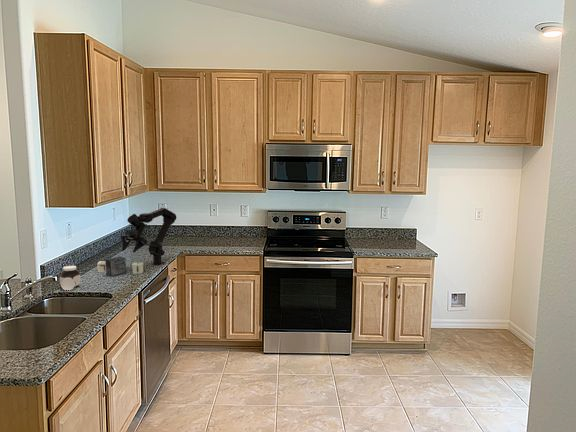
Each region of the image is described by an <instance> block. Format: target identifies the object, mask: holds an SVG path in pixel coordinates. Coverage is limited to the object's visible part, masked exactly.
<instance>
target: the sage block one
mask: <svg viewBox="0 0 576 432" xmlns="http://www.w3.org/2000/svg"><path fill="white" fill-rule="evenodd" d="M131 265H132V275H133V274H134V275H135V274H136V275H137V274H143V273H144V261H140V262H139V261H137V262H135V261H134V262H132V264H131Z"/></svg>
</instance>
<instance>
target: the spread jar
mask: <svg viewBox="0 0 576 432" xmlns="http://www.w3.org/2000/svg"><path fill="white" fill-rule="evenodd" d="M81 281H82V280H81V273H80V271H79V270H78V269H77V266H76V265H66V266H63V267H62V271H61V273H60V275H59V283H60V284H59V285H60V286H61V288H62V289H63V290H64V291H66V290H67V292H68V290H69V291H73V289H76V288H78V287H79V286H80V285H81ZM75 287H76V288H75Z"/></svg>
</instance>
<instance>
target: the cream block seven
mask: <svg viewBox="0 0 576 432" xmlns="http://www.w3.org/2000/svg"><path fill="white" fill-rule="evenodd" d="M96 267H97V273H106V262H105V260H102V261H101V260H100V261H98V262H97V266H96Z"/></svg>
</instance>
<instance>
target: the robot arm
mask: <svg viewBox="0 0 576 432" xmlns="http://www.w3.org/2000/svg"><path fill="white" fill-rule="evenodd" d="M158 217H162V225H161V227H160V230H159V231H158V234H157V235H156V238H155V240H151V241H150V242H149V245H148V240H147V239H146V238H145V237H143V235H144V231H145V229H149V226H148V224H149V223H151V222H152V221H153V220H154V219H156V218H158ZM176 220H177V215H176V213H175V212H173V211H171V210H169V209H168V208H167V207H165V208H164V207H160V208H159V209H156V210H153V211H151V212H147V213H139V215H137V214H136V213H133V214H132V215H130V216H129V217H128V218H127V223H129V224H130V226H132V227H133V229H125V231H124V235H123V234H122V235H121V236H120V238H119V239H120V240H121V241H122V246H121V247H122V248H121V249H122V250H121V251H122V252H124V251H126V249H127V248H128V247H129V246H130V243H131V242H135V245H134V247H133V250H132V252H133V253H136V252H138V250H139V249H141V248H143V247H145V246H147V245H148V252H149V255H150V256H151V255H152V263H151V264H152V265H163V260H162V259H163V258H162V256H164V255H165V250H164V249H163V242H164V240H165V237H166V236H167V233H168V231H169V229H170V226H172V225H173V224H174V223H175V221H176Z"/></svg>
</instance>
